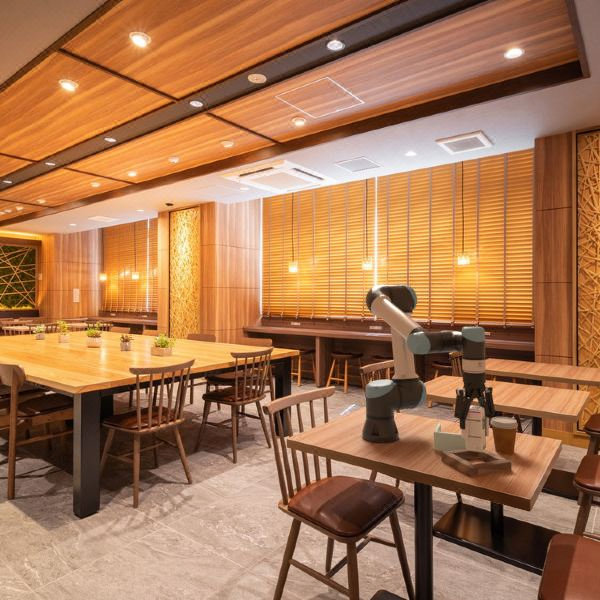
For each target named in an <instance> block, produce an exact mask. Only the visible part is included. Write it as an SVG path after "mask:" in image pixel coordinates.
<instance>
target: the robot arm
mask: <svg viewBox="0 0 600 600" xmlns="http://www.w3.org/2000/svg"><path fill="white" fill-rule="evenodd" d="M417 304H418V295H417V293H416V291H415V289H414V288H412V287H411V286H410V285H409V284H401V283H400V284H399V283H398V284H377V285H375V286H373V287H371V288H370V289H369V290H368V292H367V293H366V296H365V306H366V307H367V309H368V311H369V312H370V313H371V314H373V315H374V316H375V317H380V318H381V319H382V320H383V321H384V322H385V323H387V325H388V326H390V334H391V335H390V336H391V344H392V355H393V357H392V358H393V366H394V367H393V368H394V375H393V376H392V377H391V379H377V380H373V381H370V382H369V383H367V384H366V386H365V420H364V425H363V428H362V431H361V436H362V437H361V438H363V439H364V440H365V441H368V442H372V443H380V444H381V443H384V444H385V443H392V442H395V441H397V440H399V438H400V435H399V434H400V433H399V429H398V426H397V424H396V420H395V411H401V410H402V411H403V410H409V409H411V410H414V409H416V408H420V407H421V406H423V405H424V403H425V401H426V399H427V394H428V393H427V392H428V391H427V386H426V385H425V383H424V381H422V380H420V376H419V375H418V374H417V373H416V369H415V357H414V355H428V354H437V353H439V354H440V353H450V352H456V353H460V354H461V355H462V357H461V360H462V362H461V364H462V365H461V366H462V367H461V368H462V370H463V371H462V382H463V386H462V388H456V389H455V393H456V397H455V405H454V418H456V419H458V420H459V429H460V431H461V433H460V434H461V437H462V438H464V439H466V440H467V439H468V420H466V418H467V414H468V411H469V408H470V405H472V403H473V402H474V400H475V399H476V400H477V401H478V404H479V406H482V407H484V409H485V433H486V438H488V437H490V426H491V423H490V422H491V419H492V418H494V417H493V416H494V415H495V414H496V410H495V404H494V398H493V391H494V390H493V386H489V385H486V382H487V373H486V372H485V371H486V370H487V367H486V340H487V339H486V334H485V328H484V327H482V326H463V327H461V331H457V330H453V329H452V330H451V329H449V330H442V331H428V330H427V329H425V327H424V328H423V327H422V326H421V324H419V323H418V322H416V320H414V319H413V318H411V317H412V316H413V314H414V313H413V310H415V309H416V308H417Z"/></svg>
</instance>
